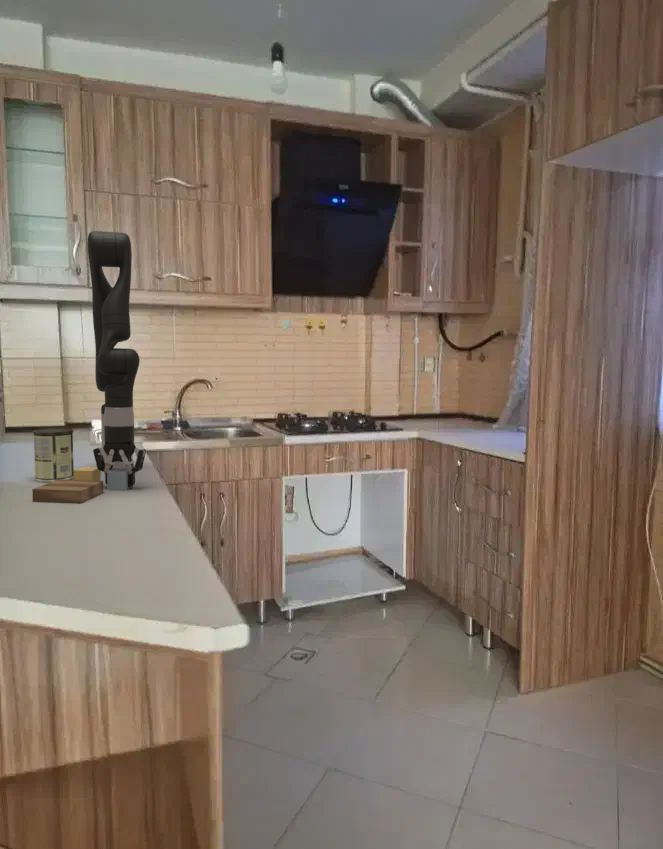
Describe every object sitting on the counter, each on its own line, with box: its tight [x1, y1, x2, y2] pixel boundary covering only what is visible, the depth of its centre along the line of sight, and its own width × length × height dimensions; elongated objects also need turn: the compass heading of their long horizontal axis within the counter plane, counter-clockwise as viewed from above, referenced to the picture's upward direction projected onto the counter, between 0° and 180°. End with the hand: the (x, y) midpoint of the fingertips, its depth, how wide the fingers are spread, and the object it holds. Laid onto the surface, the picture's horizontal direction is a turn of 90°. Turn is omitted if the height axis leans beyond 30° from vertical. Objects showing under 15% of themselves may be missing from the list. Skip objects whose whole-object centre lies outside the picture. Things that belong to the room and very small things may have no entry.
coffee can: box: [32, 427, 75, 483], centre depth 172 cm, size 10×10×14 cm
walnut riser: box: [31, 479, 104, 504], centre depth 150 cm, size 12×12×3 cm
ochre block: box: [73, 466, 102, 481], centre depth 162 cm, size 5×5×5 cm
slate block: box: [106, 468, 131, 491], centre depth 162 cm, size 5×5×5 cm
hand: (120, 486), depth 162 cm, fingers closed on slate block, 5 cm apart
